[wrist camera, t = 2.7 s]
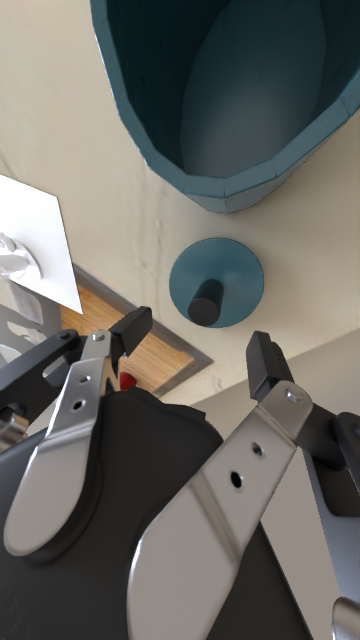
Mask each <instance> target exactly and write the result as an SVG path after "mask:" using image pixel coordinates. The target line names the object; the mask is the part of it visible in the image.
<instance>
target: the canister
mask: <svg viewBox="0 0 360 640" xmlns="http://www.w3.org/2000/svg"><path fill="white" fill-rule="evenodd" d="M90 6H91V14H92V22H93V28H94V33H95V37H96V40H97V43H98V47H99V50H100V54H101V57H102V60H103V64H104V67H105V71H106V74H107V78H108V81H109V84H110V88H111V91H112V95H113V98H114V101H115V105H116V108H117V112H118V115H119V116H120V120H121V121H122V123H123V125H124V126H125V128H126V130H127V131H128V133H129V135H130V137H131V138H132V140H133V142H134V143H135V145H136V147H137V148H138V150H139V152H140V154H141V155H142V157H143V159H144V160H145V162H146V164H147V166H148V167H150V169H151V170H152V171H154V172H155V173H156V174H158V175H159V176H160V177H162V178H163V179H164V180H166V181H167V182H168V183H169V184H171V185H172V186H173V187H175V188H176V189H177V190H179V191H180V192H181V193H183V194H184V195H186V196H187V197H188V198H190V199H191V200H193V201H194V202H196V203H197V204H199V205H200V206H202V207H203V208H204V209H206V210H208V211H213V212H218V213H233V212H236V211H240V210H243V209H245V208H248V207H251V206H254V205H255V204H257V203H258V202H259V201H261V200H262V199H263V198H264V197H266V196H267V195H268V194H269V193H271V192H272V191H273V190H275V189H276V188H277V187H278V186H280V185H281V184H282V183H283V182H284V181H285V180H286V179H287V178H288V177H289V176H290V175H291V174H293V173H294V172H295V171H296V170H297V169H298V168H299V167H300V166H301V165H302V164H303V163H304V162H305V161H306V160H307V159H308V158H309V157H310V156H311V155H313V154H314V153H315V152H316V151H317V150H318V149H319V148H320V147H321V146H322V145H323V144H324V143H325V142H326V141H327V140H328V139H329V138H330V137H331V136H332V135H334V134H335V133H336V132H337V131H338V130H339V129H340V128H341V127H342V126H343V125H344V124H345V123H346V122H347V121H348V120H349V119H350V118H351V117H352V116H353V115H354V114H355V112H356V111H357V110H358V109H359V107H360V0H90Z"/></svg>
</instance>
